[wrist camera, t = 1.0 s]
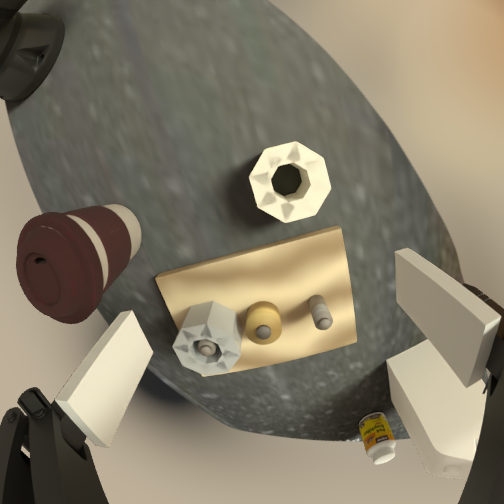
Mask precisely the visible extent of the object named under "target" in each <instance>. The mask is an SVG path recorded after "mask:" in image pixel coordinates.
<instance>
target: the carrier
mask: <svg viewBox="0 0 504 504" xmlns="http://www.w3.org/2000/svg"><path fill="white" fill-rule="evenodd" d="M155 280H156V282H157V284H158V287H159V289H160V291H161V293H162V296H163V298H164V300H165V302H166V305H167V307H168V309H169V311H170V313H171V315H172V318H173V320H174V322H175V324H176V326H177V328H178V330H180V327H181V325H182V323H183V321H184V319H185V317H186V315H187V313H188V311H189V309H190V307H191V306H192V305H197V304H201V303H205V302H210V301H215V302H217V303H219V304H221V305H223V306H225V307H228V308H230V309H232V310H234V311H235V312H236V314H237V317H238V320H239V322H240V325H241V328H242V330H243V332H242V344H241V356H240V357H239V359H238V360H237V362H236V363H235V364H234V366H233V367H232V368H231V370H230V371H229V372H226V373H230V372H236V371H241V370H247V369H252V368H257V367H262V366H267V365H272V364H276V363H281V362H285V361H290V360H294V359H298V358H302V357H306V356H310V355H314V354H317V353H321V352H325V351H328V350H332V349H335V348H339V347H342V346H345V345H349V344H352V343H355V342H357V335H356V325H355V316H354V307H353V299H352V292H351V285H350V278H349V271H348V265H347V259H346V253H345V247H344V241H343V236H342V231H341V228H340V227H339V226H333V227H329V228H326V229H322V230H318V231H314V232H311V233H307V234H303V235H299V236H296V237H292V238H288V239H284V240H281V241H277V242H273V243H270V244H266V245H262V246H258V247H255V248H251V249H247V250H244V251H240V252H236V253H232V254H229V255H225V256H221V257H218V258H214V259H210V260H207V261H203V262H199V263H196V264H192V265H188V266H185V267H181V268H177V269H174V270H170V271H166V272H163V273H159V274H158V275H157V277H156V278H155ZM216 346H217V343H214V342H212V341H210V340H208V339H202V340H200V341H199V344H198V351H199V352H200V353H201V354H202V355H203V356H211V355H213V354H214V353H215V351H216ZM220 374H224V373H220ZM201 375H202V376H205V375H203V374H201ZM213 375H217V374H213ZM206 376H210V375H206Z"/></svg>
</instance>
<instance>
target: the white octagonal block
mask: <svg viewBox="0 0 504 504" xmlns="http://www.w3.org/2000/svg"><path fill="white" fill-rule="evenodd" d="M285 164H291V165H293V166H294V167H296V168H298V169H299V172H300V176H301V180H302V183H301V184H300V186H299V188H298V189H297V191H296V193H292V194H288V195H285V196H283V195H281V194H279V193H277V192H275V191H274V190H273V186H272V183H271V178H272V176H273V175H274V173H275V171H276V169H277V168H278V166H281V165H285ZM249 179H250V182H251V186H252V189H253V193H254V196H255V200H256V203H257V206H258V208H259V209H261V210H263V211H265V212H267V213H268V214H270V215H272V216H274V217H276V218H277V219H279V220H281V221H283V222H284V223H287V222H291V221H295V220H299V219H302V218H306V217H310V216H314V215H316V213H317V212H318V210H319V208H320V207H321V205H322V203H323V202H324V200H325V198H326V196H327V195H328V193H329V191H330V190H331V186H330V182H329V178H328V173H327V169H326V166H325V162H324V158H323V157H321V156H319V155H318V154H316V153H315V152H313V151H311V150H310V149H308V148H306V147H305V146H303V145H301V144H300V143H298V142H292V143H287V144H283V145H279V146H275V147H271V148H268V149H265V150H264V151H263V153H262V155H261V157H260V158H259V160H258V162H257V164H256V165H255V167H254V169H253V171H252V172H251V174H250V176H249Z"/></svg>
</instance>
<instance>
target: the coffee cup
mask: <svg viewBox="0 0 504 504" xmlns="http://www.w3.org/2000/svg"><path fill="white" fill-rule="evenodd" d="M141 236H142V235H141V228H140V224H139V222H138V220H137V218H136V217H135V215H134V214H133V213H132V212H131V211H130V210H129V209H127V208H126V207H124V206H121V205H117V204H110V205H105V206H92V207H87V208H82V209H78V210H73V211H69V212H65V213H57V212H48V213H44V214H42V215H39V216H36V217H34V218H32V219H31V220H29V221H28V222H27V223H26V224H25V226H24V227H23V229H22V231H21V233H20V236H19V240H18V245H17V260H16V269H17V275H18V279H19V282H20V285H21V287H22V289H23V292H24V294H25V295H26V297H27V298H28V300H29V301H30V302H31V304H32V305H33V306H34V307H35V308H36V309H37V310H39V311H40V312H41V313H43V314H45V315H47V316H50V317H51V318H53V319H55V320H57V321H59V322H62V323H67V324H76V323H79V322H82V321H84V320H85V319H87V318H88V317H89V315H91V314H92V312H93V311H94V310H95V309H96V308H97V306H98V305H99V303H100V301H101V298H102V294H103V293H104V292H105V291H106V290H107V289H108V288H109V286H110V285H111V284H112V283H113V282H114V281H115V279H116V278H117V277H118V276H119V275H120V274H121V272H122V271H123V270H124V269H125V268H126V266H127V264H128V262H129V261H130V260H131V259H132V257H133V256H134V255H135V254H136V253H137V251H138V249H139V247H140V244H141Z"/></svg>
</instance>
